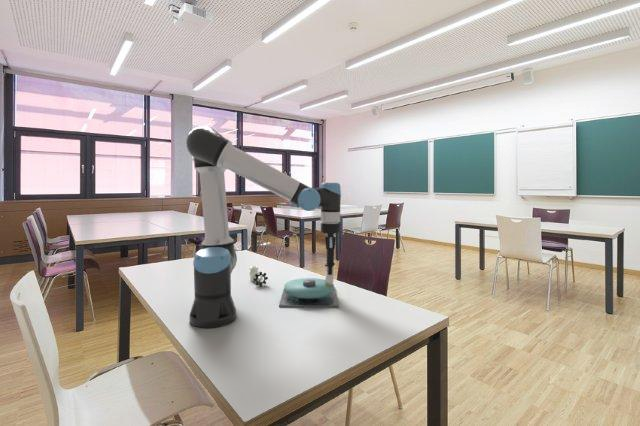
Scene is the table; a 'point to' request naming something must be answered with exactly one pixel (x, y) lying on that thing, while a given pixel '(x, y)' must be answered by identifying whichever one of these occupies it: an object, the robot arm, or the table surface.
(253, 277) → the valve
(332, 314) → the table surface
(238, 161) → the robot arm
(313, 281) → the handwheel
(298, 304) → the wheel stand
